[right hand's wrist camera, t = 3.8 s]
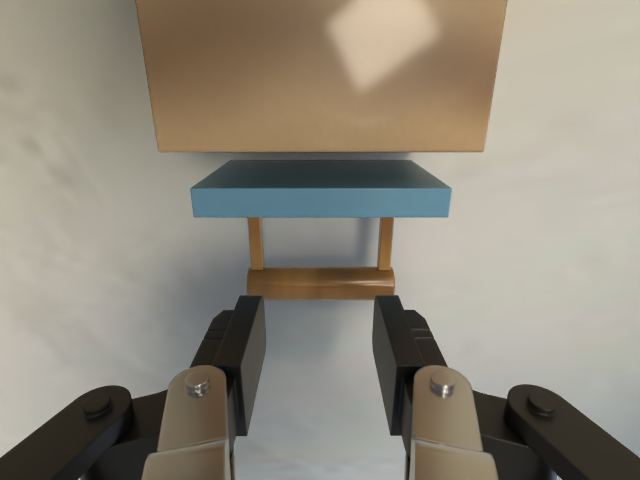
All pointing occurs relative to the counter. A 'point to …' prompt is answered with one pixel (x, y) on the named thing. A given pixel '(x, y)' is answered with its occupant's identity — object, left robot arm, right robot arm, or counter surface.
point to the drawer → (320, 215)
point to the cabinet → (321, 74)
